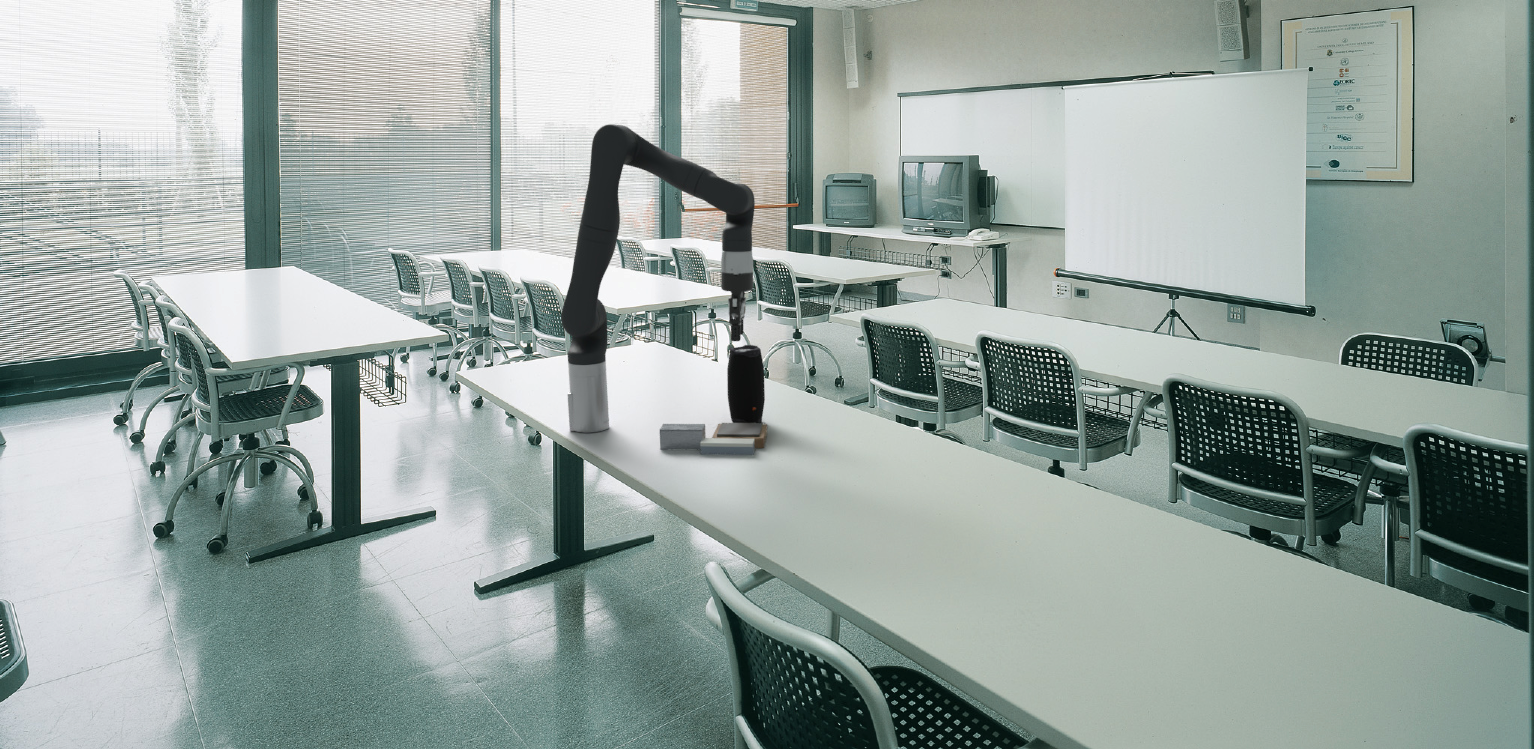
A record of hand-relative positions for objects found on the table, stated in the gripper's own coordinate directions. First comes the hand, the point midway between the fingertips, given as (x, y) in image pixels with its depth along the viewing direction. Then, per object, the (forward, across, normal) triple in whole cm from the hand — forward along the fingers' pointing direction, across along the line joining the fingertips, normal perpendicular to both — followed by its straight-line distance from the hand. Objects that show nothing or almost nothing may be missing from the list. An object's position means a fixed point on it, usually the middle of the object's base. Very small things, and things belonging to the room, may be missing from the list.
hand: (737, 337), depth 228 cm
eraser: (+24, +15, -1) cm, 28 cm away
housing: (+24, +10, -12) cm, 29 cm away
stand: (+24, +6, +1) cm, 25 cm away
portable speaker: (+24, -10, +2) cm, 26 cm away
